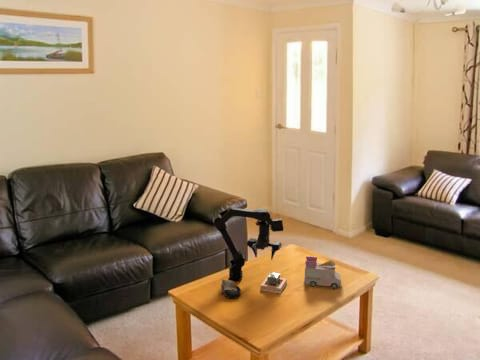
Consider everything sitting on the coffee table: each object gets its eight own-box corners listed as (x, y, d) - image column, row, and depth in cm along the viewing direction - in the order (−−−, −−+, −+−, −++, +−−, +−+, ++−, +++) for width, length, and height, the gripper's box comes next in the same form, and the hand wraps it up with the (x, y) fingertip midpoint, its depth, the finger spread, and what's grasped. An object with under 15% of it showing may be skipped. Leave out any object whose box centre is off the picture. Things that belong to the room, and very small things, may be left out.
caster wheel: (239, 302, 240) (220, 301, 239) (238, 288, 250) (219, 286, 249) (242, 292, 237) (222, 290, 236) (240, 278, 247) (221, 276, 246)
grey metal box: (267, 287, 249) (267, 276, 248) (270, 282, 255) (270, 272, 253) (276, 288, 247) (276, 278, 246) (279, 283, 253) (279, 273, 251)
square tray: (260, 290, 248) (260, 285, 247) (267, 280, 259) (267, 275, 258) (280, 293, 244) (280, 288, 243) (286, 283, 255) (286, 279, 254)
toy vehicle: (340, 291, 246) (342, 264, 243) (303, 287, 250) (304, 261, 246) (340, 283, 255) (341, 257, 252) (304, 280, 259) (305, 254, 255)
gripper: (243, 234, 253) (243, 261, 257) (276, 239, 246) (275, 266, 250) (250, 228, 263) (250, 254, 267) (282, 232, 256) (281, 258, 260)
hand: (263, 258), depth 261 cm, fingers open, 9 cm apart
